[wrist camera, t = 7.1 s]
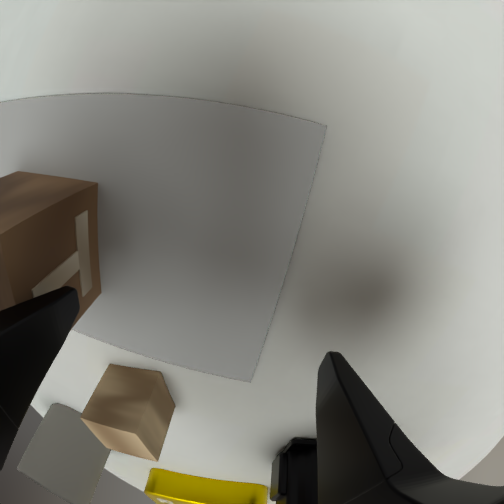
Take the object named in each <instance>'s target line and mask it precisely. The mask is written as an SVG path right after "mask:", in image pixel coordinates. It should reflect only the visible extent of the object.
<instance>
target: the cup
mask: <svg viewBox="0 0 504 504" xmlns="http://www.w3.org/2000/svg"><path fill="white" fill-rule="evenodd" d="M81 415H82V413H80V412H78V411H76V410H74V409H72V408H70V407H68V406H65V405H62V404H59V403H55V404H52V405H51V407H50V408H49V410H48V412H47V413H46V415H45V417H44V419H43V420H42V422H41V424H40V426H39V427H38V429H37V431H36V433H35V435H34V436H33V438H32V440H31V442H30V444H29V446H28V448H27V449H26V451H25V453H24V455H23V457H22V459H21V461H20V463H19V465H18V467H17V469H18V470H19V471H20V472H21V473H23V474H24V475H25V476H27V477H28V478H29V479H31V480H32V481H34V482H35V483H37V484H38V485H40V486H41V487H43V488H44V489H46V490H48V491H49V492H51V493H52V494H54V495H56V496H58V497H59V498H61V499H63V500H65V501H67V502H68V503H70V504H90V503H91V500H92V497H93V495H94V492H95V489H96V487H97V484H98V481H99V479H100V476H101V474H102V471H103V469H104V466H105V463H106V461H107V458H108V456H109V454H110V451H111V449H109V448H106V447H105V446H104V445H103V443H102V442H101V441H100V440H99V439H98V438H97V437H96V436H95V435H94V434H93V432H92V431H91V430H90V429H89V428H88V427H87V425H86V424H85V423H84V422H83V421H82V419H81V418H80V417H81Z"/></svg>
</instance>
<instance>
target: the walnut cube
mask: <svg viewBox="0 0 504 504" xmlns="http://www.w3.org/2000/svg"><path fill="white" fill-rule="evenodd" d="M97 207H98V183H97V182H91V181H85V180H78V179H72V178H65V177H58V176H52V175H44V174H37V173H30V172H22V171H17V172H14V173H11V174H9V175H6V176H3V177H1V178H0V311H1V310H4V309H6V308H9V307H11V306H14V305H16V304H19V303H21V302H24V301H27V300H29V299H32V298H34V297H37V296H40V295H42V294H45V293H48V292H50V291H53V290H56V289H58V288H61V287H64V286H71V287H74V288H76V289H77V292H78V298H79V304H80V310H79V313H78V315H77V317H76V319H75V321H74V323H73V325H72V327H71V329H72V328H73V326H74V325H75V324H76V323H77V322H78V320H79V319H80V318H81V317H82V315H83V314H84V313H85V312H86V311H87V309H88V308H89V307H90V306H91V305H92V303H93V302H94V301H95V300H96V299H97V297H98V296H99V295H100V294H101V293H102V292H101V281H100V269H99V253H98V219H97ZM71 329H70V330H71ZM69 332H70V331H69Z"/></svg>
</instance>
